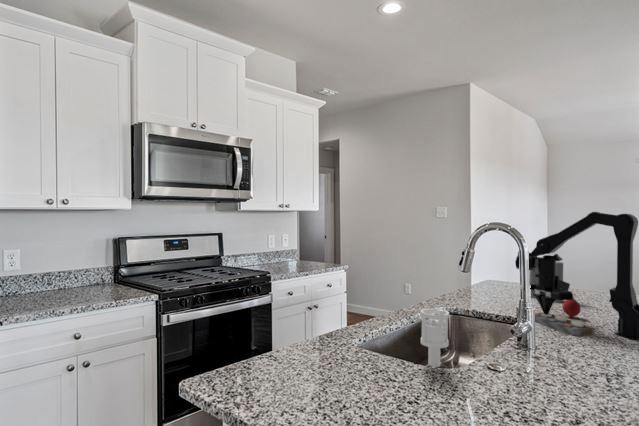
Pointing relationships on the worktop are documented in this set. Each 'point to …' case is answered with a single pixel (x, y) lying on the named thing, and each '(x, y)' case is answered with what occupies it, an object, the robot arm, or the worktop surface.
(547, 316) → the far button
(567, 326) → the button board
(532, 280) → the flask
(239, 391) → the worktop surface
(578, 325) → the near button
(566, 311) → the onion
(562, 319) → the middle button
